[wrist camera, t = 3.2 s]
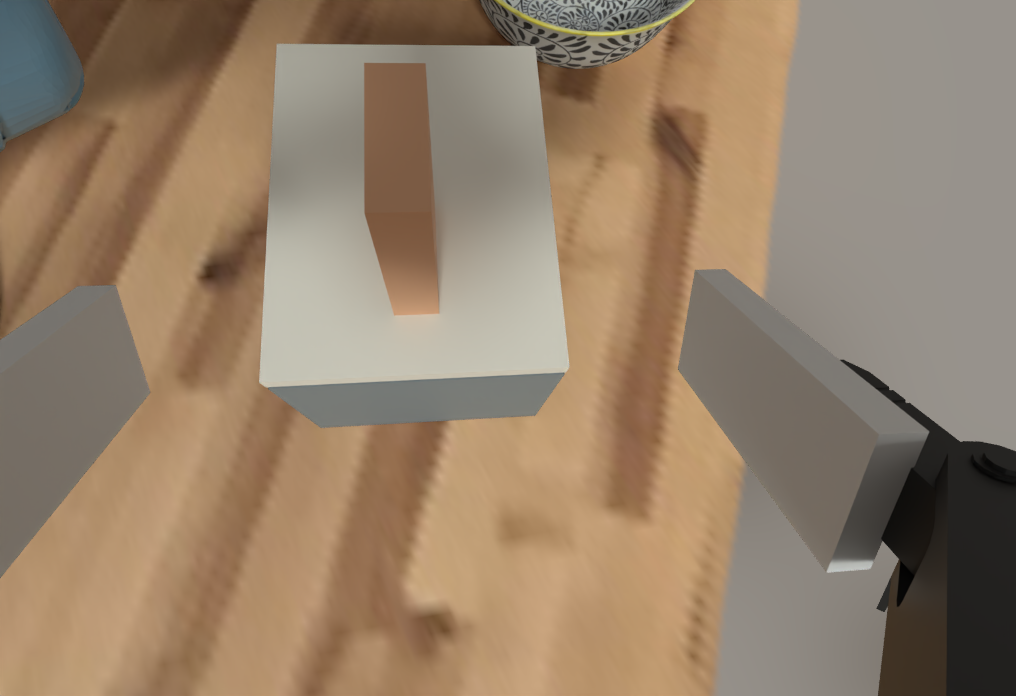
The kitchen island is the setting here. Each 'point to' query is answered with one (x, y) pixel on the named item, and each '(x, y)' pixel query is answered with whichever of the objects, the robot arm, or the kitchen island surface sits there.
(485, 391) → the carton
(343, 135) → the lid
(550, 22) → the bowl
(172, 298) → the kitchen island surface
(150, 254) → the kitchen island surface
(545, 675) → the kitchen island surface
